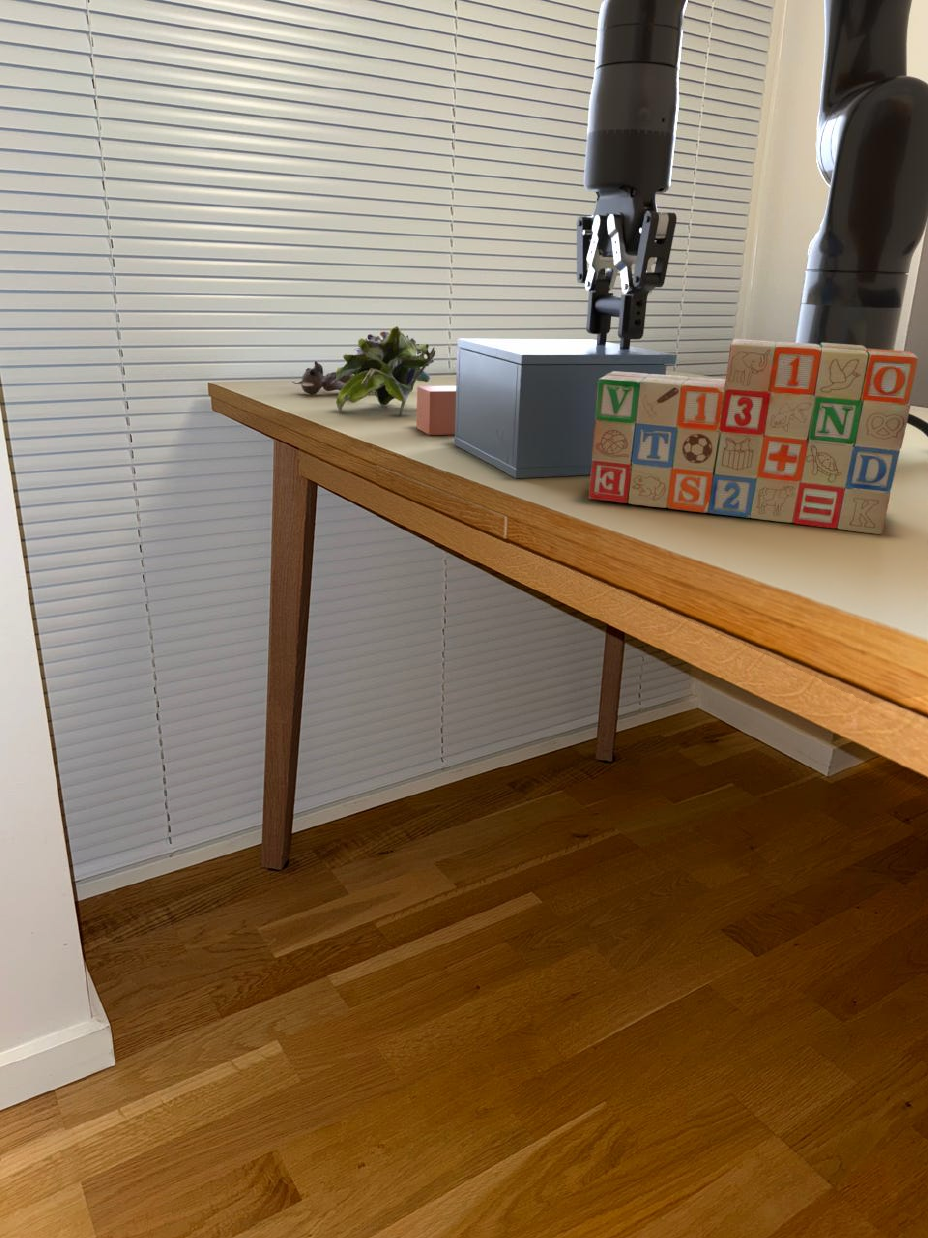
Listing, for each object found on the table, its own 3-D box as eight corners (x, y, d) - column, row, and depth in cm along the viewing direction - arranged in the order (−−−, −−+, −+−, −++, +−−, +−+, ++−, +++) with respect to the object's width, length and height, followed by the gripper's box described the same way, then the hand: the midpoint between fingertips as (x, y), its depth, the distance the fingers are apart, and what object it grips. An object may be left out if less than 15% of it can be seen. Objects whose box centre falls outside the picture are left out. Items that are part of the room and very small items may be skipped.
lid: (592, 347, 94) (596, 293, 92) (675, 364, 80) (683, 300, 78) (457, 347, 89) (458, 289, 87) (521, 364, 76) (525, 296, 74)
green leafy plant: (382, 449, 117) (426, 367, 118) (420, 448, 108) (467, 359, 109) (308, 399, 112) (354, 314, 113) (341, 394, 102) (391, 301, 103)
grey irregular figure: (427, 376, 120) (321, 366, 113) (424, 409, 121) (318, 402, 114) (373, 361, 135) (276, 352, 128) (371, 391, 136) (274, 384, 129)
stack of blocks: (586, 501, 72) (599, 335, 67) (601, 485, 77) (615, 330, 73) (884, 534, 66) (921, 353, 61) (878, 514, 71) (911, 347, 67)
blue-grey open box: (577, 440, 97) (584, 348, 94) (655, 471, 83) (666, 364, 80) (454, 444, 92) (457, 347, 89) (515, 478, 79) (521, 365, 76)
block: (455, 427, 102) (456, 385, 101) (469, 434, 98) (471, 390, 97) (416, 428, 101) (416, 385, 99) (429, 435, 97) (430, 391, 95)
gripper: (716, 124, 75) (691, 343, 81) (628, 142, 87) (611, 330, 93) (634, 116, 72) (614, 343, 78) (555, 136, 85) (543, 330, 91)
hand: (613, 335), depth 86 cm, fingers closed on lid, 5 cm apart
